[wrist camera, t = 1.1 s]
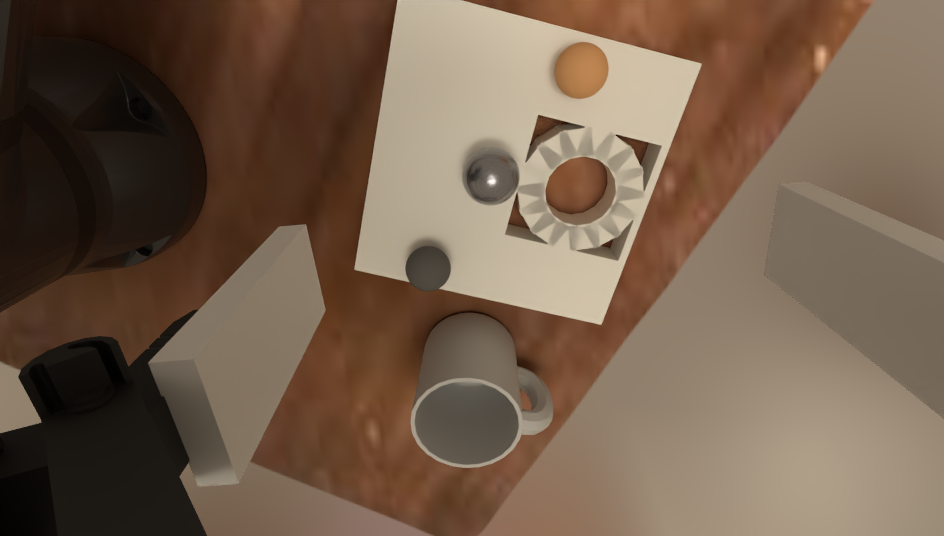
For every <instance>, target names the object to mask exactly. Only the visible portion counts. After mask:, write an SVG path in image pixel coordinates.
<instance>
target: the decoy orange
mask: <svg viewBox="0 0 944 536" xmlns="http://www.w3.org/2000/svg"><path fill="white" fill-rule="evenodd" d="M608 71H609V66H608V60H607V58H606V55H605V54H604V52H603V51H602V50H601V49H600V48H599V47H598V46H596V45H594V44H592V43H588V42H579V43H575V44H572V45H571V46H569V47H567V48H566V49H565V50H564V51H563V52H562V53H561V54H560V56H559V57H558V59H557V61H556V64H555V70H554V75H555V80H556V83H557V85H558V87H559V89H560V90H561V91H562V92H563V93H564V94H565V95H567V96H569V97H571V98H576V99H584V98H588V97H591V96H592V95H594V94H596V93H597V92H598V91H599V90H600V89H601V88H602V87H603V85H604V84H605V82H606V80H607V77H608Z"/></svg>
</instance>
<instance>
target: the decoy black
mask: <svg viewBox="0 0 944 536" xmlns="http://www.w3.org/2000/svg"><path fill="white" fill-rule="evenodd" d="M405 271H406V276H407V278H408V280H409V282H410V283H411V284H412V285H413V286H414V287H416V288H417V289H420V290H423V291H434V290H437V289H439V288H440V287H442V286H443V285H444V284H445V283H446V282H447V280H448V279H449V276H450V272H451V264H450V261H449V258H448V257H447V255H446V254H445V253H444V252H443V251H442V250H441V249H439V248H437V247H434V246H423V247H420V248H417V249H416V250H414V251H413V252H412V253H411V254H410V255H409V257H408V259H407V261H406V266H405Z"/></svg>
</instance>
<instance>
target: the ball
mask: <svg viewBox="0 0 944 536" xmlns="http://www.w3.org/2000/svg"><path fill="white" fill-rule="evenodd" d="M519 179H520V173H519V168H518V165H517V163H516V161H515V159H514V158H513V157H512V156H511V155H510V154H509V153H508V152H506V151H505V150H503V149H500V148H496V147H486V148H482V149H479V150H478V151H476V152H474V153H473V154H472V155H471V156H470V157H469V158H468V159H467V161H466V163H465V165H464V168H463V172H462V181H463V186H464V188H465V190H466V192H467V193H468V195H469V196H470V197H471V198H472V199H473V200H475V201H476V202H478V203H480V204H483V205H491V206H492V205H498V204H501V203H503V202H505V201H507V200H508V199H509V198H511V197H512V195H513V194H514V193H515V191H516V189H517V187H518V185H519Z"/></svg>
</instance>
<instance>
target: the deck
mask: <svg viewBox="0 0 944 536" xmlns="http://www.w3.org/2000/svg"><path fill="white" fill-rule="evenodd" d="M579 42H588V43H592V44H594V45H596V46H598V47H599V48H600V49H601V50H602V51H603V52H604V54H605V55H606V58H607V60H608V66H609V71H608V77H607V80H606V82H605V84H604V85H603V87H602V88H601V89H600V90H599V91H598V92H597V93H596V94H594V95H592V96H591V97H588V98H584V99H576V98H571V97H569V96H567V95H565V94H564V93H563V92H562V91H561V90H560V89H559V87H558V85H557V83H556V80H555V75H554V70H555V64H556V61H557V59H558V57H559V56H560V54H561V53H562V52H563V51H564V50H565V49H566V48H567V47H569V46H571V45H572V44H575V43H579ZM701 65H702V64H700V63H697V62H693V61H689V60H685V59H681V58H678V57H674V56H670V55H666V54H662V53H659V52H655V51H651V50H647V49H644V48H640V47H636V46H632V45H628V44H625V43H621V42H617V41H613V40H609V39H606V38H602V37H598V36H594V35H591V34H587V33H583V32H579V31H575V30H572V29H568V28H564V27H560V26H557V25H553V24H549V23H545V22H541V21H538V20H534V19H530V18H526V17H522V16H519V15H515V14H511V13H507V12H504V11H500V10H496V9H492V8H488V7H485V6H481V5H477V4H473V3H470V2H466V1H462V0H398V1H397V7H396V13H395V19H394V26H393V32H392V38H391V44H390V50H389V57H388V63H387V69H386V75H385V82H384V88H383V94H382V100H381V107H380V113H379V119H378V125H377V131H376V138H375V144H374V150H373V156H372V163H371V169H370V175H369V181H368V188H367V194H366V200H365V206H364V212H363V219H362V225H361V231H360V237H359V244H358V250H357V256H356V262H355V268H354V270H358V271H362V272H367V273H371V274H376V275H380V276H385V277H389V278H394V279H398V280H402V281H407V282H409V280H408V278H407V276H406V271H405V266H406V261H407V259H408V257H409V255H410V254H411V253H412V252H413V251H414V250H416V249H417V248H420V247H423V246H434V247H437V248H439V249H441V250H442V251H443V252H444V253H445V254H446V255H447V257H448V258H449V261H450V264H451V272H450V276H449V279H448V280H447V282H446V283H445V284H444V285H443V286H442V287H440V288H439V289H443V290H447V291H452V292H456V293H461V294H465V295H470V296H474V297H479V298H483V299H488V300H492V301H497V302H501V303H506V304H510V305H515V306H519V307H524V308H528V309H533V310H537V311H542V312H546V313H551V314H555V315H560V316H564V317H569V318H573V319H578V320H582V321H587V322H591V323H596V324H600V325H601V324H602V322H603V319H604V316H605V314H606V311H607V309H608V306H609V304H610V301H611V298H612V296H613V293H614V291H615V288H616V285H617V283H618V280H619V278H620V275H621V272H622V270H623V267H624V265H625V262H626V259H627V257H628V254H629V252H630V249H631V246H632V244H633V241H634V239H635V236H636V233H637V231H638V228H639V226H640V223H641V221H642V218H643V215H644V213H645V210H646V208H647V205H648V202H649V200H650V197H651V195H652V192H653V189H654V187H655V184H656V182H657V179H658V176H659V174H660V171H661V169H662V166H663V163H664V161H665V158H666V156H667V153H668V150H669V148H670V145H671V143H672V140H673V138H674V135H675V132H676V130H677V127H678V125H679V122H680V119H681V117H682V114H683V112H684V109H685V106H686V104H687V101H688V99H689V96H690V93H691V91H692V88H693V86H694V83H695V80H696V78H697V75H698V73H699V70H700V68H701ZM538 115H541V116H545V117H549V118H553V119H557V120H561V121H565V122H569V123H571V124H564V125H561V124H559V125H557V126H554V128H552V129H551V130H549V131H548V132H546V133H544V134H543V135H541V136H538V137H537V138H536V139H534V142H533V143H532V145H531V146H530V143H531V139H532V135H533V132H534V128H535V125H536V121H537V117H538ZM616 134H617V135H621V136H625V137H629V138H633V139H637V140H641V141H645V142H649V144H648V146H647V149H646V152H645V155H644V157H643V160H642V163H641V165H640V164H639V162H638V160H637V158H636V156H635V154H634V150H633V149H632V148H631V146H630V145H629V144H627V143H626V142H624V141H623V140H621V139H619V138H618V137H617V136H616ZM529 146H530V147H529ZM486 147H496V148H500V149H503V150H505V151H506V152H508V153H509V154H510V155H511V156H512V157H513V158H514V159H515V161H516V163H517V165H518V168H519V173H520V179H519V185H518V187H517V189H516V191H515V193H514V194H513V195H512V197H511V198H509V199H508V200H507V201H505V202H503V203H501V204H498V205H492V206H491V205H483V204H480V203H478V202H476V201H475V200H473V199H472V198H471V197H470V196H469V195H468V193H467V192H466V190H465V188H464V186H463V181H462V172H463V168H464V165H465V163H466V161H467V159H468V158H469V157H470V156H471V155H472V154H473V153H474V152H476V151H478V150H479V149H482V148H486ZM584 156H586V157H590V158H594V159H598V160H599V161H601V162H602V163H603V165H604V167H605V169H606V171H607V187H606V190H605V192H604V195H603V197H602V198H601V199H600V200H599V202H598V203H597V204H596V205H595V206H594V207H592V208H590V209H589V210H587V211H585V212H583V213H576V214H567V213H563V212H559V211H557V210H556V209H555V208H553V207H552V206H550V205H549V204H548V202H547V200H546V195H545V189H546V185H547V182H548V179H549V177H550V175H551V174H552V173H553V171H554V170H555V169H556V168H557V166H559V165H560V164H562V163H564V162H565V161H567V160H569V159H571V158H577V157H584ZM516 193H517V197H518V199H517V203H518V208H519V211H520V214H521V215H522V216H523V218H524V219H525V221H526V223H527V224H528V226H529V229H528V228H523V227H519V226H515V225H510V224H508V221H509V218H510V214H511V211H512V207H513V204H514V200H515V196H516ZM613 238H614V239H613ZM611 239H613V241H612V244H611V247H610V248H609V247H604V246H600V245H602V244H604V243H606V242H608V241H610V240H611Z"/></svg>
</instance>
